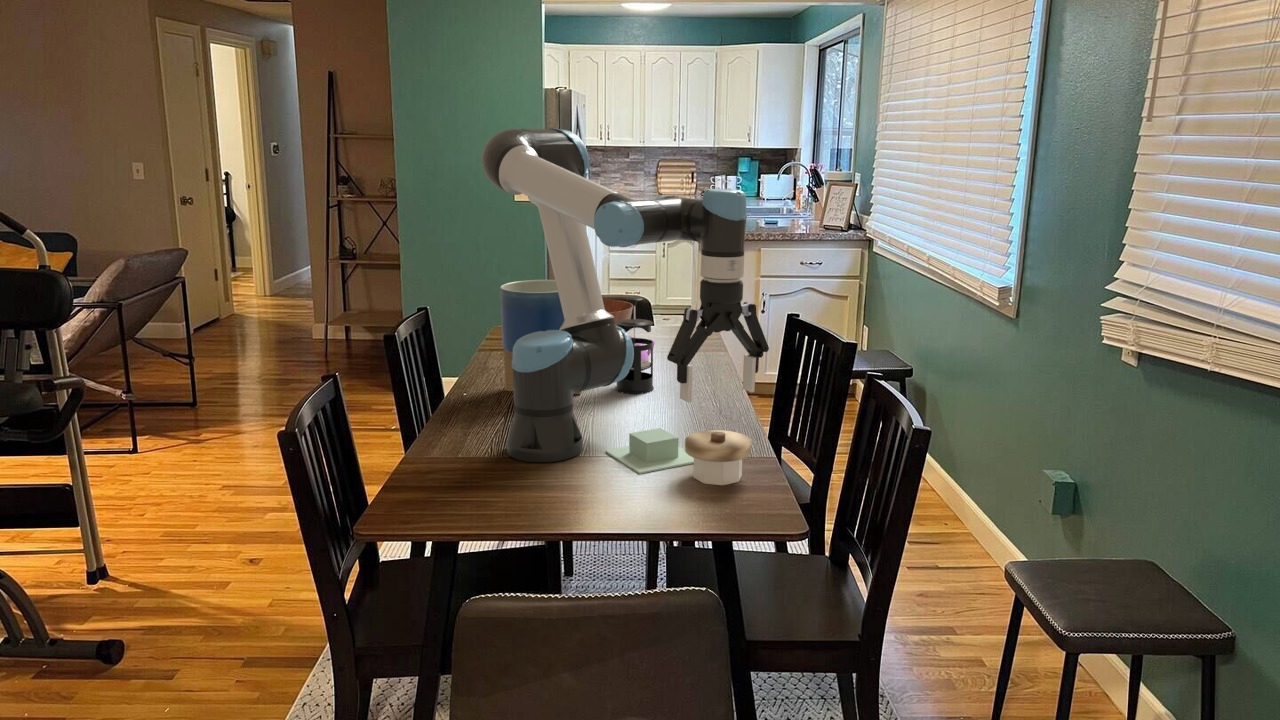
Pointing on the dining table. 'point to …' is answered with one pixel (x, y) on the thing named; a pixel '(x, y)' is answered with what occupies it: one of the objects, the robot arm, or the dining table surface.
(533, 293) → the planter
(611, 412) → the dining table surface
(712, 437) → the lid
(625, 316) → the bowl
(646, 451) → the mat stand
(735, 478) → the ramekin
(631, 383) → the french press
